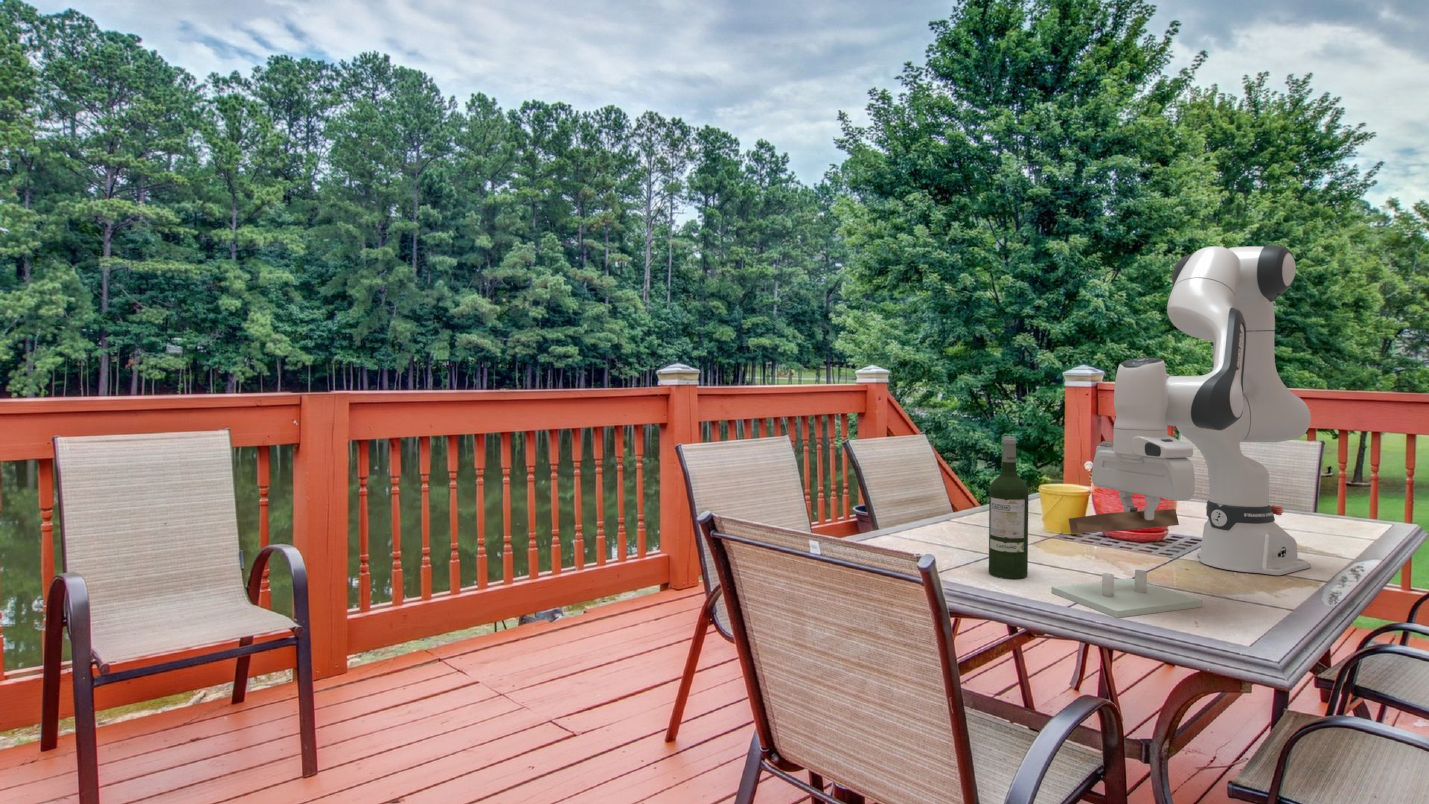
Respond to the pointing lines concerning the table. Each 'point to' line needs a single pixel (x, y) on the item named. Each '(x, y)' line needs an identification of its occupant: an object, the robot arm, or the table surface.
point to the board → (1126, 596)
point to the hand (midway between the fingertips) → (1138, 517)
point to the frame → (1122, 521)
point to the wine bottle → (1008, 519)
